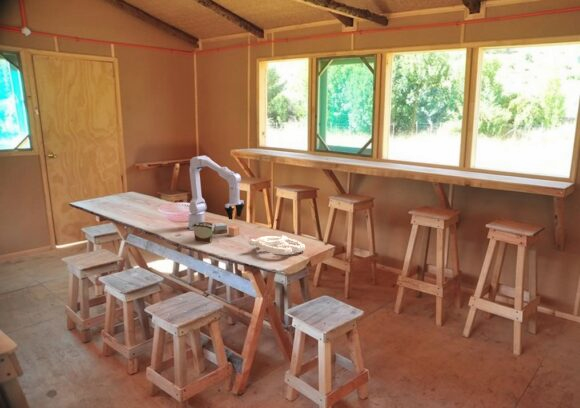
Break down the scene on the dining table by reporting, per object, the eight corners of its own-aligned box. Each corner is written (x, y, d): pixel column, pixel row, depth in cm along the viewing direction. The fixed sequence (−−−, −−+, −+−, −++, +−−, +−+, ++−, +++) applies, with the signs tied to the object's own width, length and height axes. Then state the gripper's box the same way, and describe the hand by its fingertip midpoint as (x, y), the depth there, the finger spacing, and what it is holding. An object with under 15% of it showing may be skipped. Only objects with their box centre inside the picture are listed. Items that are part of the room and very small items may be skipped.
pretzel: (280, 242, 248) (282, 231, 247) (312, 254, 232) (313, 242, 231) (242, 246, 228) (244, 234, 227) (274, 260, 212) (276, 247, 211)
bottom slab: (215, 234, 256) (215, 230, 256) (213, 231, 263) (213, 227, 262) (227, 233, 259) (227, 229, 258) (224, 230, 265) (224, 226, 264)
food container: (218, 240, 244) (217, 223, 242) (212, 243, 239) (212, 225, 237) (198, 237, 248) (198, 220, 246) (192, 240, 243) (192, 223, 240)
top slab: (216, 230, 256) (216, 226, 256) (214, 227, 262) (214, 223, 261) (226, 229, 259) (226, 225, 258) (224, 226, 264) (224, 222, 263)
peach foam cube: (234, 236, 251) (234, 228, 250) (228, 235, 254) (228, 227, 253) (239, 235, 255) (239, 226, 254) (233, 233, 257) (233, 225, 256)
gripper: (231, 197, 243) (232, 221, 246) (247, 193, 255) (247, 216, 258) (222, 196, 246) (222, 219, 249) (238, 192, 258) (238, 214, 262)
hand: (234, 217), depth 254 cm, fingers open, 7 cm apart
